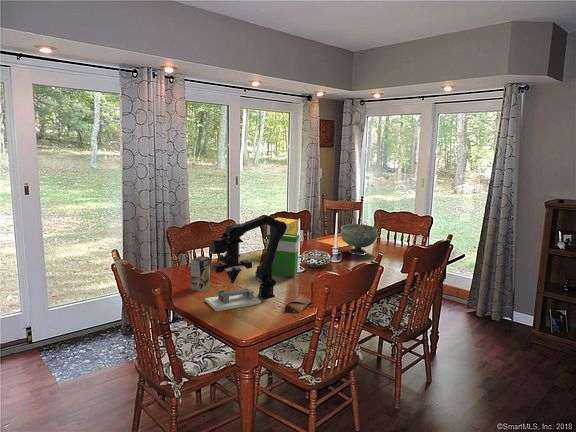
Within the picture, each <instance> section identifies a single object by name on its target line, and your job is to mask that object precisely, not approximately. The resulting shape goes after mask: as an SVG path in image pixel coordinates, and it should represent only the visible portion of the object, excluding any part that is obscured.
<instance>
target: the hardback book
mask: <svg viewBox="0 0 576 432" xmlns="http://www.w3.org/2000/svg"><path fill="white" fill-rule="evenodd" d="M270 237H271V235H270V234H267V233H266V249H265V251H266V250H267V247H268V244H269V240H270ZM299 242H300V234H298V235H296V234H286V233H284V235H283V236H282V237H281V238H280V240H279V244H278V247H277V250H276V254H275V257H274V261H273V264H272V272H273V274H272V276H280V275H281V276H282V277H288V276H292V277H291V278H295V277H296V276H297V275H296V274H298V266H299V265H298V263H299V262H298V261H299V246H300V245H299V244H300V243H299ZM295 275H296V276H295ZM294 276H295V277H294Z"/></svg>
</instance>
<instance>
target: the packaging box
mask: <svg viewBox="0 0 576 432" xmlns="http://www.w3.org/2000/svg"><path fill="white" fill-rule="evenodd" d="M274 219H275V220H279V221H282V222H285V223H286V225H287V229H286V231H285V233H286V234H296V235H297V232H298V233H299V226H298V220H299V219H292V218H284V217H275V218H274ZM267 234H270V226H269V225H267V224H266V235H267Z"/></svg>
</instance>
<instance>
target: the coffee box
mask: <svg viewBox="0 0 576 432" xmlns="http://www.w3.org/2000/svg"><path fill="white" fill-rule="evenodd" d="M190 261H191V262H190V264H191V265H190V290H193V291H198V292H202V291H203V290H206V289H207V288H210V287H211V285H210V284H211V281H210V280H211V257H209V256H202V255H200V256H197V257H194V258H192V259H191V260H190Z"/></svg>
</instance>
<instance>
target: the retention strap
mask: <svg viewBox="0 0 576 432" xmlns="http://www.w3.org/2000/svg"><path fill="white" fill-rule="evenodd" d="M245 288H246V289H243V288H242V289H236V290H229V291H224V292H220V295H221V296H222V297H223V294H226V293H228V294H229V296H235V295H242V294H249V292H252V291H251V290H250V289H249V288H248V287H245ZM247 288H248V289H247Z"/></svg>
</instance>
